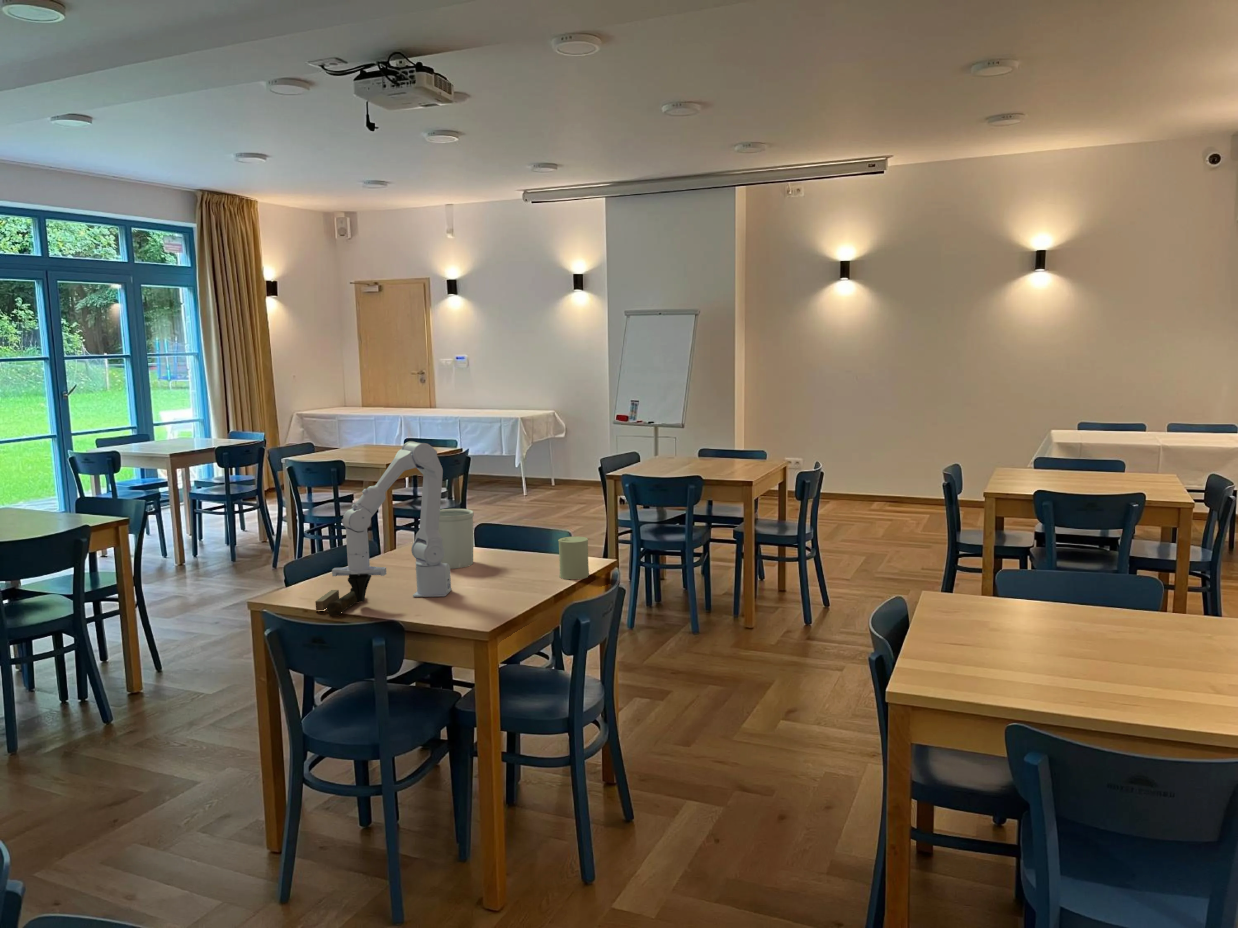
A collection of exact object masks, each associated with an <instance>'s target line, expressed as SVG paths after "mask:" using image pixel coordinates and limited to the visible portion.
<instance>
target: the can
mask: <svg viewBox="0 0 1238 928" xmlns="http://www.w3.org/2000/svg"><path fill="white" fill-rule="evenodd" d="M557 541H558V553H559V555H558V557H559V558H558V560H559V578H560V577H561V578H560V579H562V578H563V579H562V580H567V579H578V580H583V579H587V578H589V577H590V572H589V571H590V568H589V539H588V537H585V536H566V537H565V536H564V537H561V538H559V539H558V540H557ZM588 576H589V577H588Z"/></svg>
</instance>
